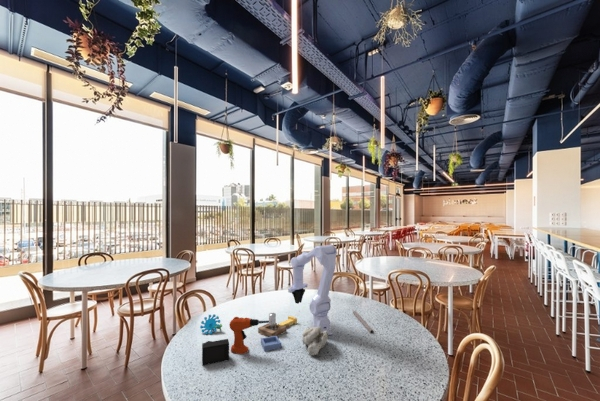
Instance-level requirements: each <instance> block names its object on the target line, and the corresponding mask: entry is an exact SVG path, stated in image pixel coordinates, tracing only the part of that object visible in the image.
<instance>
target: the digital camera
mask: <svg viewBox="0 0 600 401" xmlns="http://www.w3.org/2000/svg"><path fill="white" fill-rule="evenodd" d="M201 346H202V347H201V365H202V366H208V365H212V364H217V363H222V362H227V361H229V360H230V341H229V338H225V339H219V340H214V341H211V340H207V341H206V342H202V344H201Z"/></svg>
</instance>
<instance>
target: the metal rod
mask: <svg viewBox="0 0 600 401" xmlns="http://www.w3.org/2000/svg"><path fill="white" fill-rule="evenodd" d="M352 314H353V315H354V317H355V318H356V319H357V320H358V321H359V322H360V323H361V324H362V326H363V327H364V328H365V329H366V330H367V331H368V332H369V334H374V333H375V331H374V330H373V328H371V327H370V325H369V324H368V323H367V322H366V320H364V319H363V317H361V315H360V314H359V313H358V312H357V311H356V310H353V311H352Z"/></svg>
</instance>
